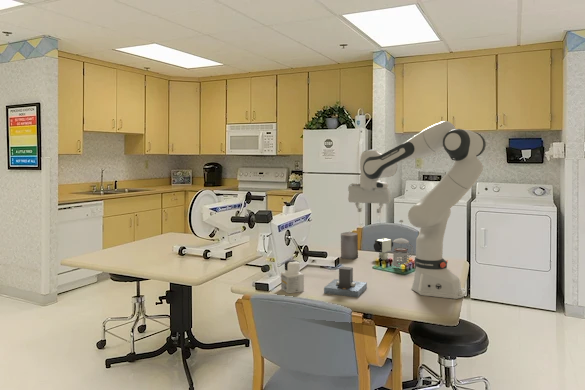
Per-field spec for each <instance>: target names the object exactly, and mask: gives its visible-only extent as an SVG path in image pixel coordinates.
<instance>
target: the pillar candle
mask: <svg viewBox="0 0 585 390" xmlns="http://www.w3.org/2000/svg"><path fill="white" fill-rule="evenodd" d="M358 238H359V237H358V233H357V232H353V231H352V232H351V231H348V232H347V231H346V232H341V233H340V258H342V259H345V260H346V259H347V260H354V259H358V258H359V257H358V256H359V251H358V250H359V246H358V245H359V243H358V240H359V239H358Z"/></svg>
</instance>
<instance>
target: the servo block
mask: <svg viewBox="0 0 585 390" xmlns="http://www.w3.org/2000/svg"><path fill="white" fill-rule="evenodd" d="M353 277H354V268H353V267H351V266H350V267H349V266H340V267H339V269H338V279H339V281H337V282H336V285H339V288H340V289H348V288H349V287H350V288H352V287H353V286H355V285H356V283H353V281H354V280H353V279H354V278H353Z"/></svg>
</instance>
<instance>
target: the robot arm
mask: <svg viewBox="0 0 585 390" xmlns="http://www.w3.org/2000/svg"><path fill="white" fill-rule="evenodd" d="M486 145H487V143H486V140H485V138H484V136H482V135H481V134H480V133H479V132H475V131H472V130H470V129H464V128H463V129H462V128H456V127H455V126H454V124H453V122H451V121H448V120H442V121H440V122H438V123H437V122H436V123H435V124H433V125H431V126H428V127H427V128H424V129H423V130H422V131H420V132H418V133H417V134H415V135H413V136H412V137H410V138H409V139H407V140H406V141H404V142H402V143H400V144H399V145H397V146H395V147H393V148H392V149H391V148H390V150H388V151H386V152H384V153H381V152H379V151H378V150H377V149H366V150H364V151H362V152H361V155H360V159H359V169H360V175H359V183H351V184H349V185H348V188H347V191H348V197H347V199H348V202H349V203H355V204H354V205H355V206H356V208H357V212H358V213H362V207H360V203H362V204H378V205H379V208H377V209H376V213H377V214H381V212H382V211H381V210H382V208H383V206H384V204H385V205H386V204H387V205H388V204H390V203H391V201H392V200H391V198H392V197H391V191H390V189H389V188H388V187H389V183H388V182H386V181H382V180H381V179H383V178H389V177H393V176H394V175H395V174H396V173H397V171H398V163H399V162H401V161H405V160H410V159H420V158H426V157H429V156H432V155H434V154H436V153H438V152H440V151H441V150H443V149H444V150H445V152H446V153H447V155H448V156H449V158H450V160H452V161H454V164H453V165H452V166H451V168H449V170H448V171H447V172H446V173H445V174H444V176H443V177H441V179H440V181H439V182H438V183H437V184H436V185H435V186H434V187H433V188H432V189H431V190H430V191H428V192H427V193H426V194H425V195H424V196H423V197H422V198H421V199H419V201H418V202H416V203H415V204H414V205H413V206H411V208H409V210H408V213H407V217H408V220H409V221H408V222H410V224H411V225H412V226H413V227H415V228H420V230H419V233H418V236H417V237H416V238H415V239H416V240H415V257H414V262H413V263H414V265H413V266H414V277H413V281H412V282H413V283H412V286H411V290H412V291H414V292H416V293H417V294H418V295H420V296H425V297H435V298H445V299H456V300H457V299H461V298H463V297H465V296H466V295H467V290H466V289H465V288H464V287H462V284H461V283H462V282H461V279H460V278H459V276H458V275H456V274H455V273H454V272H453V271H451V270H450V268H448V261H449V260H448V259H447V260H446V259H444V258H443V249H444V248H443V246H444V238H445V237H444V236H445V233H446V228H447V223H448V220H449V218H450V217H451V212H452V211H451V208H452V207H454V206H455V205H456V204H458V203H459V202H460V200H461V199H462V198H464V196H465V195H466V194H467V193H468V191H470V189H471V188H472V187H473V186H474V184H475V183H476V182H477V180H478V179H479V178H480V177H481V174H482V173H483V171H484V166H483V163H482V161H481V160H480V159H478V157H479V156H481V155H482V154H483V153H484V151H485V149H486V147H487V146H486Z"/></svg>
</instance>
